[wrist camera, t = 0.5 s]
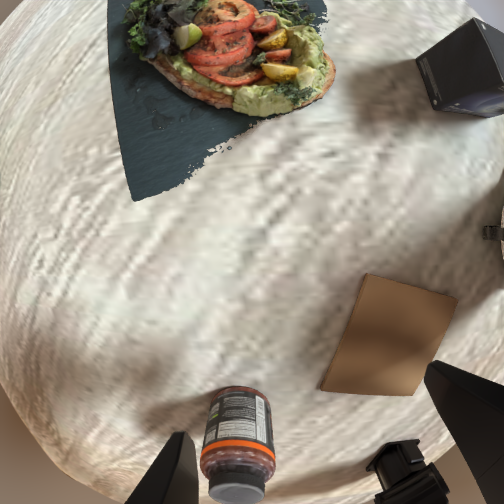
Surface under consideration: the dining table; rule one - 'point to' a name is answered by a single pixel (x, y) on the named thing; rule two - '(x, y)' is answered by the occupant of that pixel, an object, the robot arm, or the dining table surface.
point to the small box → (466, 70)
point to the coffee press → (495, 233)
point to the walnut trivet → (389, 339)
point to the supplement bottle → (238, 446)
